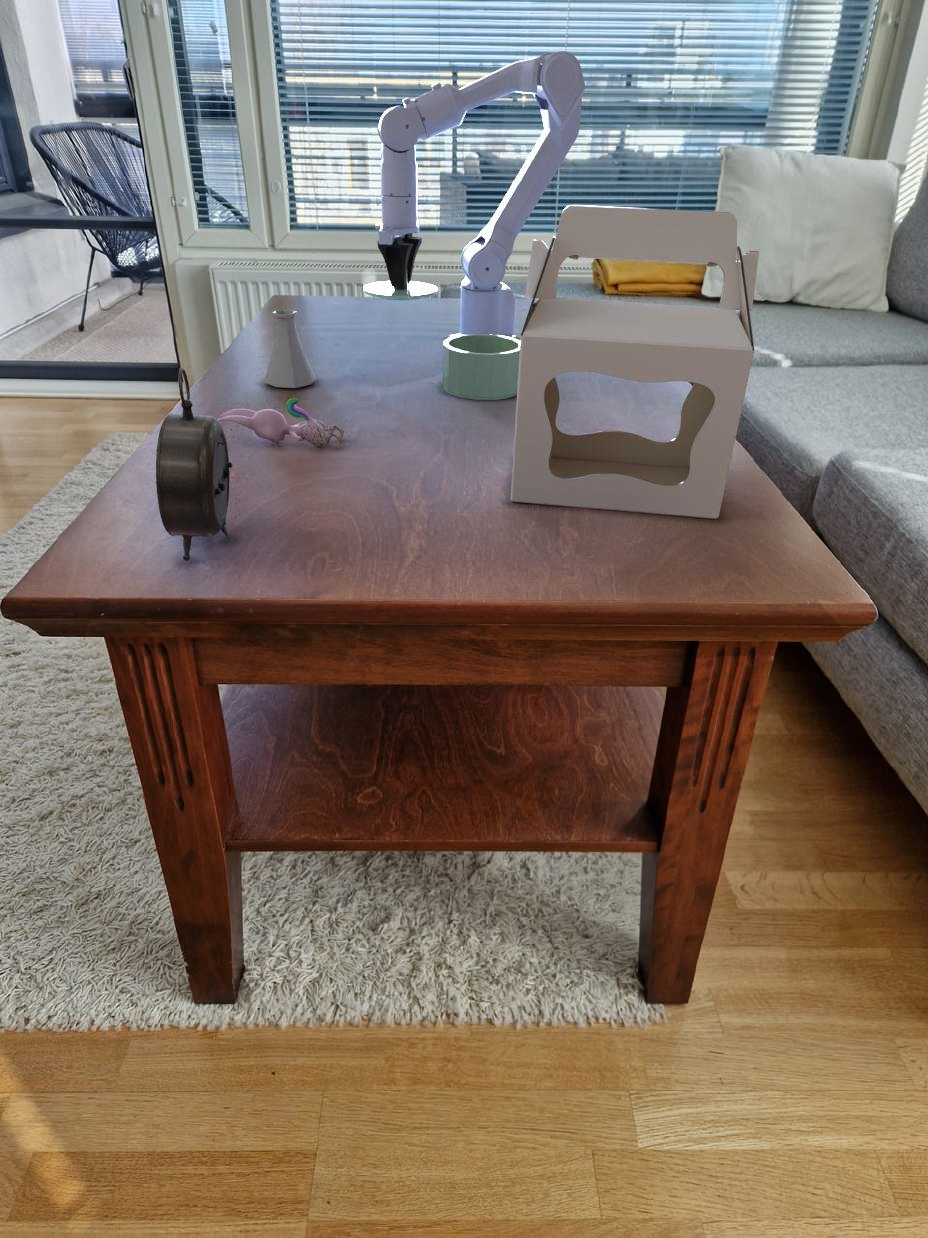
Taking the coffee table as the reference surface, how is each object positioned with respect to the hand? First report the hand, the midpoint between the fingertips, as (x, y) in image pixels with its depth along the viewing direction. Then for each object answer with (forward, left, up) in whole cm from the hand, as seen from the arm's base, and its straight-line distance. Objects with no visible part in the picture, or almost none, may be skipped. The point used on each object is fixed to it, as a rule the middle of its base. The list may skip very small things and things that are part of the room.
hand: (400, 285), depth 139 cm
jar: (+9, +28, -9) cm, 31 cm away
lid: (0, 0, -1) cm, 1 cm away
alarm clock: (+64, +45, -9) cm, 79 cm away
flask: (+29, +8, -9) cm, 31 cm away
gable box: (+24, +63, -9) cm, 68 cm away
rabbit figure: (+44, +28, -9) cm, 53 cm away
